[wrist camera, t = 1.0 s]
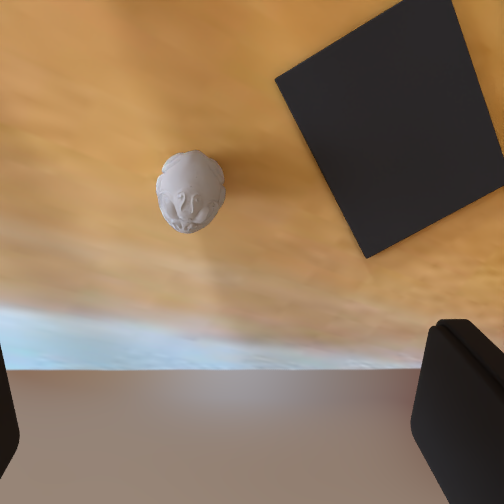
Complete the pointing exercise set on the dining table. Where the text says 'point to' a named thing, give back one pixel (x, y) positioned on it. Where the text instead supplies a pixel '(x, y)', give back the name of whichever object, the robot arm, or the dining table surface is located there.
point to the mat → (397, 122)
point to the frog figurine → (190, 191)
